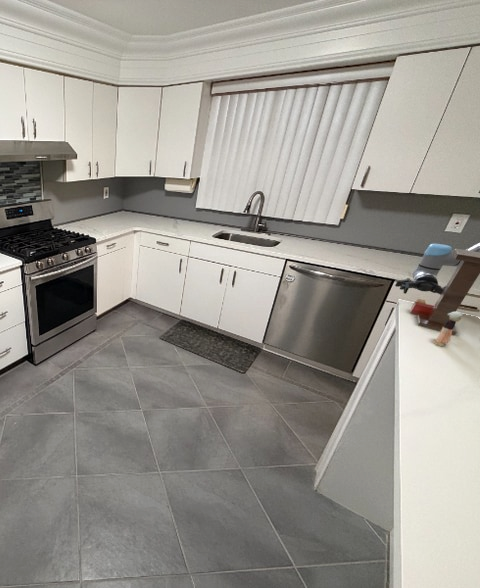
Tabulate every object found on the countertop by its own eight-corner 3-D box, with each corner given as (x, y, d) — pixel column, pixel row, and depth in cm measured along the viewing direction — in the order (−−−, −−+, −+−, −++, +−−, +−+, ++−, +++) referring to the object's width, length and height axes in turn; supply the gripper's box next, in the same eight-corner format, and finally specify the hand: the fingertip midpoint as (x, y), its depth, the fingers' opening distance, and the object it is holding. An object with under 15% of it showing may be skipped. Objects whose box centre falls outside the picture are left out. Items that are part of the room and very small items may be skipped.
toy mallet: (430, 318, 127) (435, 308, 125) (410, 313, 130) (415, 304, 128) (428, 306, 137) (433, 297, 135) (409, 301, 140) (414, 293, 138)
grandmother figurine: (447, 349, 107) (468, 317, 101) (432, 344, 109) (451, 313, 103) (445, 340, 112) (465, 310, 106) (430, 336, 114) (449, 306, 109)
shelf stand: (454, 335, 115) (502, 262, 102) (417, 325, 121) (458, 255, 108) (451, 323, 123) (495, 254, 110) (416, 314, 129) (454, 248, 116)
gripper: (459, 297, 138) (466, 313, 124) (386, 281, 153) (385, 294, 139) (469, 282, 134) (477, 297, 120) (393, 267, 149) (392, 279, 135)
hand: (428, 295), depth 129 cm, fingers open, 13 cm apart
